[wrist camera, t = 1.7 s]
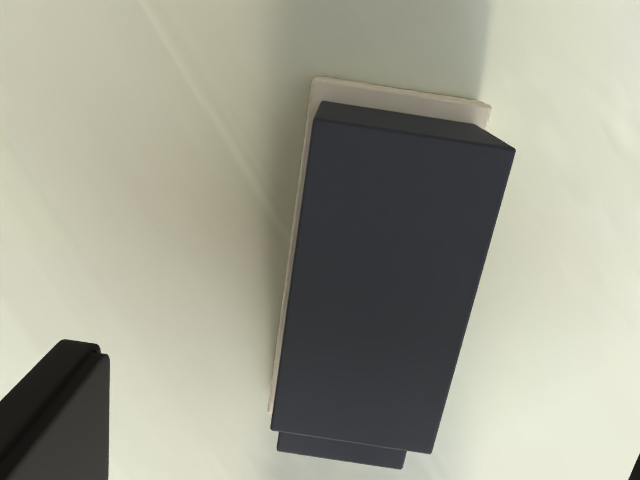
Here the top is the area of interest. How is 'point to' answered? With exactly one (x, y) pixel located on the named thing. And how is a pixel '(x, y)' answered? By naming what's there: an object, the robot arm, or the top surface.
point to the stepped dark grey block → (382, 268)
